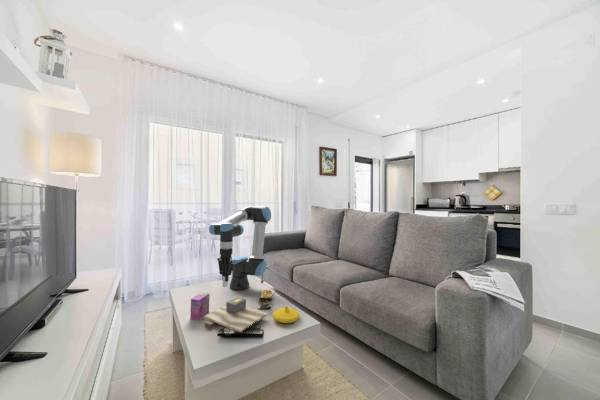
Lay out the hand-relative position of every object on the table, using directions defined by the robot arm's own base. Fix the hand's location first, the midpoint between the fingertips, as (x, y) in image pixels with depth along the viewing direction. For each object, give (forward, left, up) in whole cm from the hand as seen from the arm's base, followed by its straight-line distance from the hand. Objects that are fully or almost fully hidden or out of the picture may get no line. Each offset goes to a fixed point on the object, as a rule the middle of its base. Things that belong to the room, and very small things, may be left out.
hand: (225, 286), depth 151 cm
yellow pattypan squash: (-12, +37, -16) cm, 42 cm away
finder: (0, +9, -12) cm, 15 cm away
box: (+12, -8, -16) cm, 21 cm away
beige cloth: (+6, +14, -15) cm, 22 cm away
